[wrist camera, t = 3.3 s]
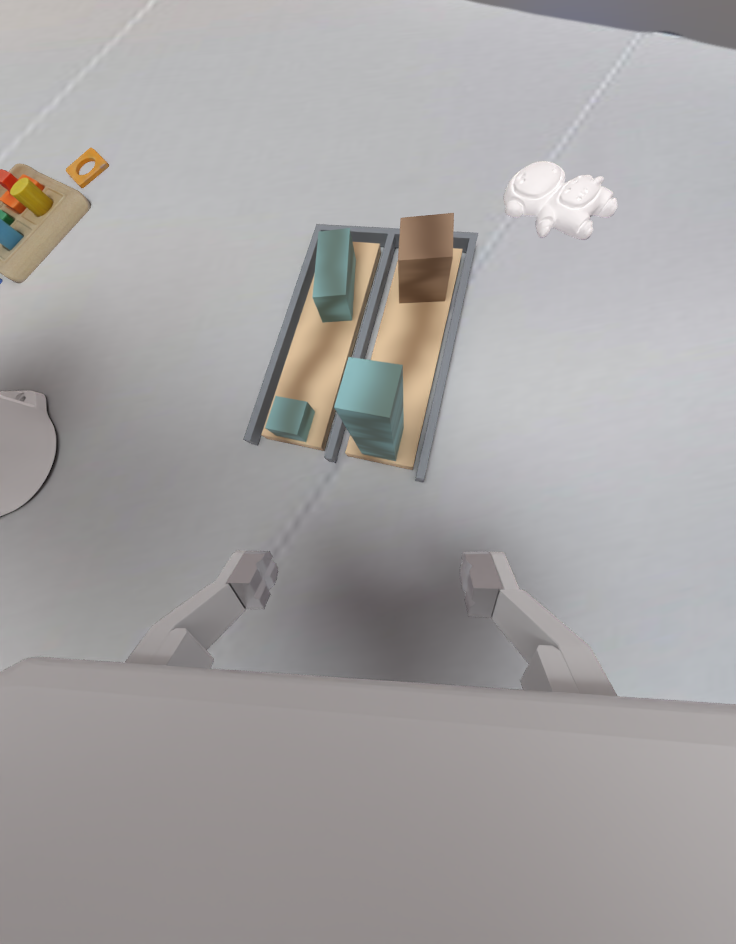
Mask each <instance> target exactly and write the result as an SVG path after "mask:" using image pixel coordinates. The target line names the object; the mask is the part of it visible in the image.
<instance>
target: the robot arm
mask: <svg viewBox="0 0 736 944" xmlns="http://www.w3.org/2000/svg"><path fill="white" fill-rule="evenodd" d="M55 452H56V434H55V429H54V426H53V424H52V422H51V420H50V418H49V417H48V414H47V409H46V398H45V395H44V394H42V393H39V392H35V391H0V516H2V515H5V514H7V513H10V512H12V511H14V510H16V509H17V508H19V507H20V506H22V505H23V504H25V503H26V502H27V501H28V500H29V499H30V498H31V497H32V496H33V495H34V494H35V493H36V492H37V491H38V489H39V488H40V487H41V485H42V484H43V482H44V481H45V479H46V477H47V475H48V473H49V471H50V469H51V466H52V464H53V460H54V457H55ZM272 557H273V556H272V554H271V552H270V551H235V552H234V553H233V554H232V555H231V557H230V558H229V560H228V562H227V563H226V565H225V566H224V568H223V569H222V571H221V572H220V574H219V576H218V577H217V579H216V580H215V582H214V583H210V584H209V585H207V586H206V587H205V588H203V589H202V590H200V591H199V592H198V593H196V594H195V595H194V596H192V597H191V598H189V599H188V600H187V601H185V602H184V603H183V604H181V605H180V606H178V607H177V608H176V609H174V610H173V611H172V612H170V613H169V614H167V615H166V616H165V617H163V618H162V619H161V620H159V621H158V622H156V623H155V624H154V625H152V626H151V628H150V629H149V631H148V632H147V633H146V635H145V636H144V637H143V639H142V640H141V641H140V643H139V644H138V645H137V647H136V648H135V649H134V651H133V652H132V653H131V655H130V656H129V657H128V659H127V660H126V661H125V663H123V662H108V661H94V660H79V659H64V658H51V657H31V658H27V659H24V660H22V661H20V662H18V663H16V664H14V665H12V666H10V667H8V668H7V669H5V670H3V671H1V672H0V944H736V704H722V703H708V702H693V701H679V700H664V699H650V698H635V697H620V696H617V694H616V692H615V691H614V689H613V687H612V685H611V683H610V681H609V680H608V678H607V676H606V674H605V672H604V671H603V669H602V667H601V665H600V663H599V661H598V660H597V658H596V656H595V654H594V652H593V650H592V649H591V647H590V646H589V645H588V644H587V643H586V642H584V641H583V640H582V639H581V638H580V637H579V636H577V635H576V634H575V633H574V632H573V631H572V630H570V629H569V628H568V627H567V626H566V625H565V624H563V623H562V622H561V621H560V620H559V619H558V618H556V617H555V616H554V615H553V614H552V613H551V612H549V611H548V610H547V609H546V608H545V607H544V606H542V605H541V604H540V603H539V602H538V601H537V600H535V599H534V598H533V597H532V596H531V595H530V594H528V593H527V592H526V591H525V590H520V588H519V586H518V583H517V581H516V579H515V576H514V574H513V572H512V569H511V567H510V565H509V562H508V560H507V557H506V555H505V553H504V552H488V551H483V552H463V553H462V557H461V559H462V564H461V565H460V580H461V586H462V589H463V590H464V591H465V592H466V593H465V604H466V608H467V613H468V616H470V617H486V618H492V620H493V621H494V623H495V624H496V625H497V626H498V627H499V629H500V630H501V631H502V632H503V634H504V635H505V636H506V637H507V638H508V640H509V641H510V642H511V643H512V644H513V646H514V647H515V648H516V649H517V651H518V652H519V653H520V654H521V655H522V657H523V658H524V659H525V660H526V661H527V663H528V664H529V665H528V667H527V669H526V671H525V672H524V674H523V676H522V678H521V680H520V682H521V685H522V688H523V690H518V689H504V688H489V687H475V686H460V685H446V684H431V683H416V682H402V681H387V680H373V679H358V678H343V677H329V676H314V675H300V674H285V673H270V672H256V671H241V670H226V669H211V666H212V664H213V662H214V659H213V657H212V656H211V655H210V654H209V653H208V652H207V651H206V650H207V649H208V648H209V647H210V646H211V645H212V644H213V643H214V642H215V641H216V640H217V639H218V638H219V637H220V636H221V635H222V634H223V633H224V632H225V631H226V630H227V629H228V628H229V627H230V626H231V625H232V624H233V623H234V622H235V621H236V620H237V619H238V618H239V617H240V616H241V614H242V613H243V612H244V611H245V609H265V606H266V604H267V602H268V599H269V597H270V595H271V594H270V591H269V589H270V588H272V587H273V586H274V585H275V583H276V580H277V576H278V567H277V565H276V563H275V562H274V561H272V560H271V559H272Z"/></svg>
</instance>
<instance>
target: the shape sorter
mask: <svg viewBox="0 0 736 944" xmlns="http://www.w3.org/2000/svg"><path fill="white" fill-rule="evenodd" d="M90 161H95V166H94V168H93V169H92V170H91V171H90V172H89V173H87V174H85V175H79V170H80V168H81V167H82V166H83V165H84V164H85V163H87V162H90ZM108 167H109V165H108V163H107V162H106V161H105V160H104V159H103V158H102V157H101V156H100V155H99V154H98V153H97V152H96V151H95V150H94V149H93V148H89V149H88V150H87V151H86V152H85V153H84V154H82V155H81V156H80V157H79V158H78V159H77V160H75V161H74V162H73V163H72V164H71V165H70V166H69V167H68V168H66V172H67V173H68V174H69V175H70V176H71V177H72V178H73V179H74V181H75V182H76V183H77V184H78V185H79V186H80V187H81V188H84V187H85V186H86V185H87V184H89V183H90V182H91V181H92V180H93V179H95V178H96V177H97V176H98V175H99V174H101V173H102V172H103V171H104V170H105V169H107V168H108ZM90 207H91V205H90V203H89V201H88V200H87V199H86V198H85V197H84V195H82V194H81V193H80V192H79V191H77V190H75V189H73V188H71V187H69V186H67V185H65V184H63V183H61V182H58V181H56V180H54V179H52V178H50V177H48V176H46V175H43V174H41V173H39V172H37V171H36V170H34V169H33V168H31V167H29V166H27V165H25V164H16V165H15V166H14V167H13V168H12V169H11V170H10V171H9V172H7V171H5V170H2V169H1V170H0V273H1V274H3V275H4V276H5V277H7V278H8V279H10V280H12V281H15V282H18V283H22V282H23V281H25V280H26V279H27V278H28V276H29V275H30V274H31V273H32V272H33V271H34V270H35V269H36V268H37V267H38V265H39V264H40V263H41V262H42V261H43V260H44V259H45V258H46V257H47V256H48V254H49V253H50V252H51V251H52V250H53V249H54V248H55V247H56V246H57V245H58V243H59V242H60V241H61V240H62V239H63V238H64V237H65V236H66V235H67V234H68V232H69V231H70V230H71V229H72V228H73V227H74V226H75V225H76V224H77V223H78V222H79V220H80V219H81V218H82V217H83V216H84V215H85V214H86V213H87V212H88V211H89V209H90ZM1 282H2V279H1V278H0V284H1Z"/></svg>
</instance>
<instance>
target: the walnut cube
mask: <svg viewBox="0 0 736 944" xmlns="http://www.w3.org/2000/svg"><path fill="white" fill-rule="evenodd" d="M453 225H454V213H448V214H437V215H426V216H416V217H405V218H401V221H400V237H399V253H398V279H399V303H420V302H442V301H445V298H446V293H447V287H448V282H449V276H450V270H451V265H452V259H453Z"/></svg>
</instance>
